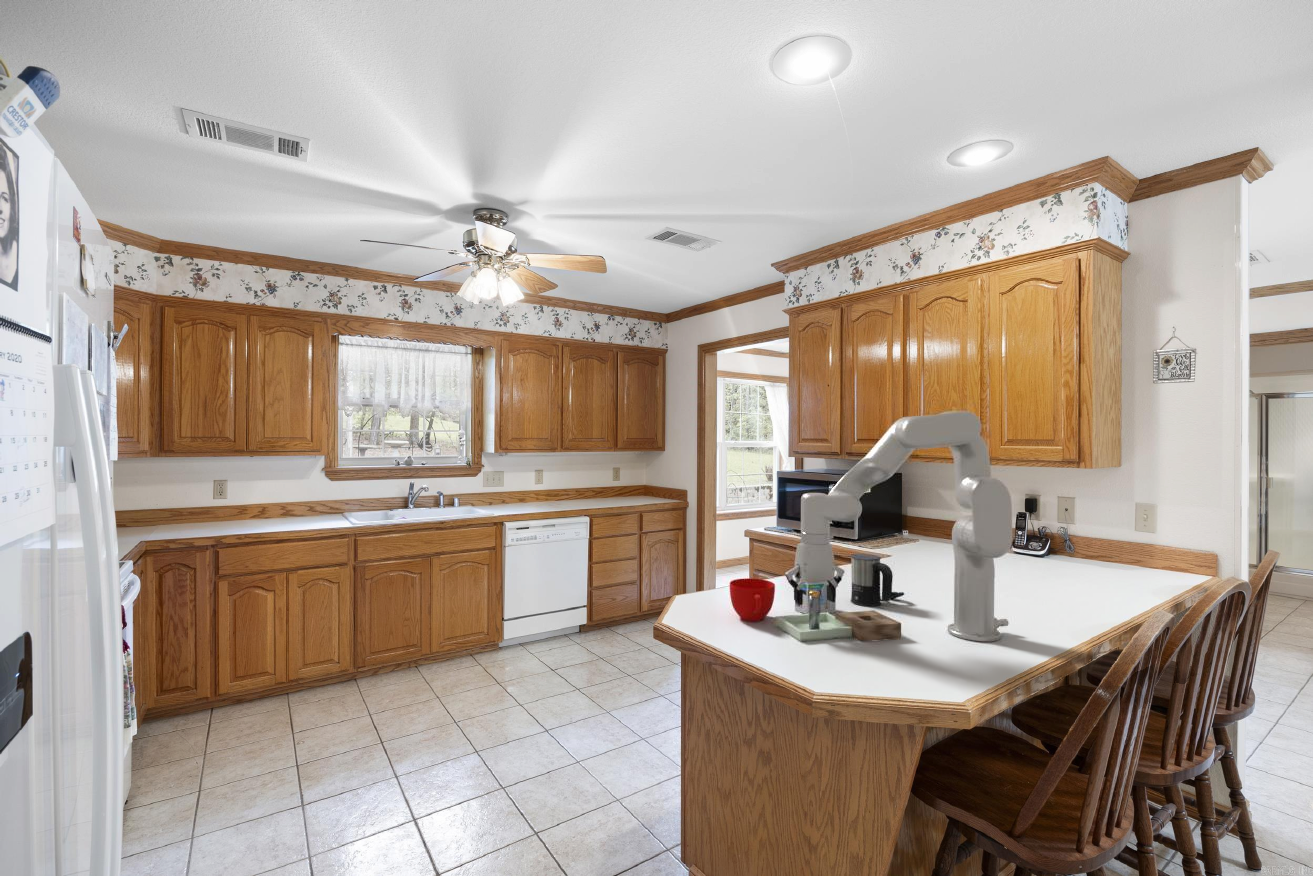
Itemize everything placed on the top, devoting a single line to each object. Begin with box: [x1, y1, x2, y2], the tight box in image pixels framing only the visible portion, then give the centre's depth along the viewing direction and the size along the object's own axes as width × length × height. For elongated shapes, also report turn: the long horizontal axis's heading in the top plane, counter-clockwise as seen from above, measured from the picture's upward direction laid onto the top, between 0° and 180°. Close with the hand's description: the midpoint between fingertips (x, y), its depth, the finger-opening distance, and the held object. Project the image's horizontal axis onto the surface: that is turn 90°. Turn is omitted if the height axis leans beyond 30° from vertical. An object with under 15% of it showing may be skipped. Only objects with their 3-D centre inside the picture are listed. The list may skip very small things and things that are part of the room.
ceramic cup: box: [729, 577, 776, 622], centre depth 176 cm, size 13×17×10 cm
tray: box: [774, 612, 852, 643], centre depth 167 cm, size 16×14×2 cm
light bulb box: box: [794, 575, 837, 614], centre depth 186 cm, size 11×7×11 cm, turn 114°
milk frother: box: [850, 553, 905, 607], centre depth 196 cm, size 14×16×15 cm
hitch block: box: [834, 609, 902, 642], centre depth 165 cm, size 12×12×4 cm
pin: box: [809, 590, 820, 630], centre depth 167 cm, size 3×3×10 cm
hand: (814, 602), depth 167 cm, fingers open, 9 cm apart
